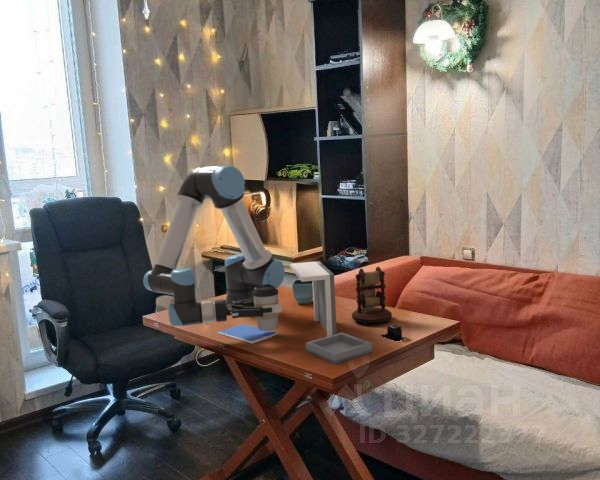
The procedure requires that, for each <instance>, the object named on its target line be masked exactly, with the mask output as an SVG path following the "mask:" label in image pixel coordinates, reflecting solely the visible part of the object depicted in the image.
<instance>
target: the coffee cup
mask: <svg viewBox="0 0 600 480" xmlns="http://www.w3.org/2000/svg"><path fill="white" fill-rule="evenodd" d="M253 296H254V306H255V307H262V306H267V305H277V304H279V289H278V288H275V287H274V286H272V285H270V284H265V285H263V286H259V287H256V288H255V290H254V291H253ZM255 318H256V323H257V328H258V329H259V330H261V331H275V330H277V329H278V326H279V324H278V323H279V313H270V314H263V317H255Z"/></svg>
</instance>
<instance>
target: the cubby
mask: <svg viewBox="0 0 600 480" xmlns="http://www.w3.org/2000/svg"><path fill="white" fill-rule="evenodd" d="M289 267H290V269H291V271H292V272H293V273H294V274H295V275H296V277H297V278H298V280H301V281H302V282H304V281H313V298H312V300H313V313H314V314H313V318H314V322H319V323H320V324H321V325H322V327H323V328H324V330H325V331H326V334H327V335H326V337H327V336H331V335H335V334H338V332H337V331H338V330H337V310H336V291H335V290H336V288H335V274H334V273H333V272H332V271H331V270H330V269H328V268H327V266H325V265H324V264H323V263H322V262H321V261H319V260H317V261H308V262H294V263H290V264H289Z"/></svg>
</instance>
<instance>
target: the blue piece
mask: <svg viewBox="0 0 600 480" xmlns="http://www.w3.org/2000/svg"><path fill="white" fill-rule="evenodd" d="M217 334H218V335H220V334H221V336H224V335H225V337H228V338H231V339H235V340H238V341H242V342H245V343H249V344H256V343H259V342H262V341H264V340H267V339H271V338H273V337H276V336H277V335H278V332H276V331H274V330H272V331H261V330H259V329H258V326H254V325H249V324H245V323H242V324H239V325H235V326H232V327H229V328H226V329H223V330H220V331H218V332H217ZM275 335H276V336H275ZM272 336H273V337H272Z"/></svg>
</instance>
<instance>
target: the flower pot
mask: <svg viewBox="0 0 600 480" xmlns="http://www.w3.org/2000/svg"><path fill="white" fill-rule="evenodd" d="M291 287H292V293H293V297H294V299H295V301H296V302H297V304H308V305H309V304H311V302H312V300H313V281H304V282H302V281H301V280H300V279H294V281H293V282H292V283H291Z"/></svg>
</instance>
